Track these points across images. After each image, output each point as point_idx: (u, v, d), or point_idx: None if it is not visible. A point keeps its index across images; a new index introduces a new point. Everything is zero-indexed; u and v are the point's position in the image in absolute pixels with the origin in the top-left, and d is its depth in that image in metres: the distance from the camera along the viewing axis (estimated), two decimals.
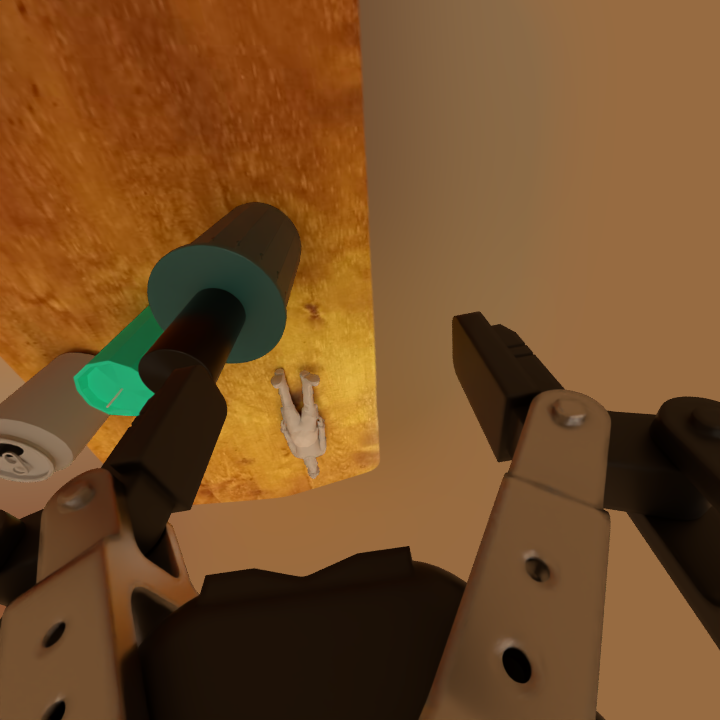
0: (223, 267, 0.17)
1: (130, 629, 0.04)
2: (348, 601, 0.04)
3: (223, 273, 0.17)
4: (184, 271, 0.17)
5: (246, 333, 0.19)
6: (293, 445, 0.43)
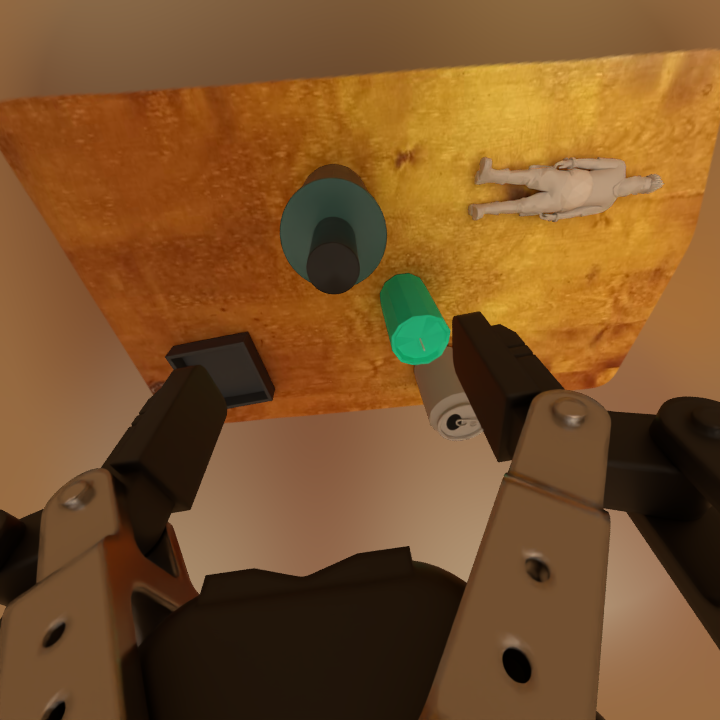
0: (295, 225, 0.22)
1: (130, 629, 0.04)
2: (348, 601, 0.04)
3: (300, 227, 0.22)
4: (301, 256, 0.23)
5: (355, 220, 0.22)
6: (587, 208, 0.33)
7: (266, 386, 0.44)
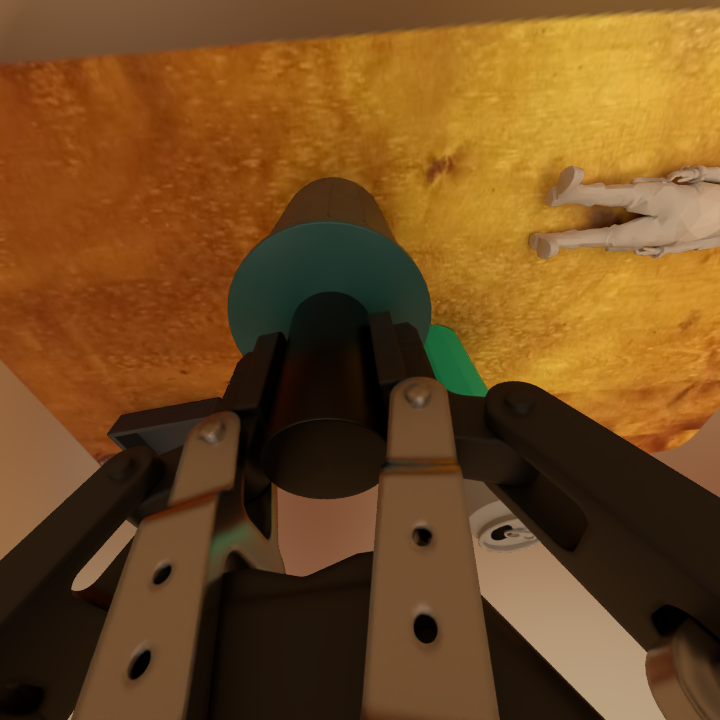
0: (257, 307, 0.11)
1: (216, 600, 0.04)
2: (348, 601, 0.04)
3: (267, 309, 0.11)
4: None
5: (372, 297, 0.11)
6: (708, 239, 0.22)
7: None
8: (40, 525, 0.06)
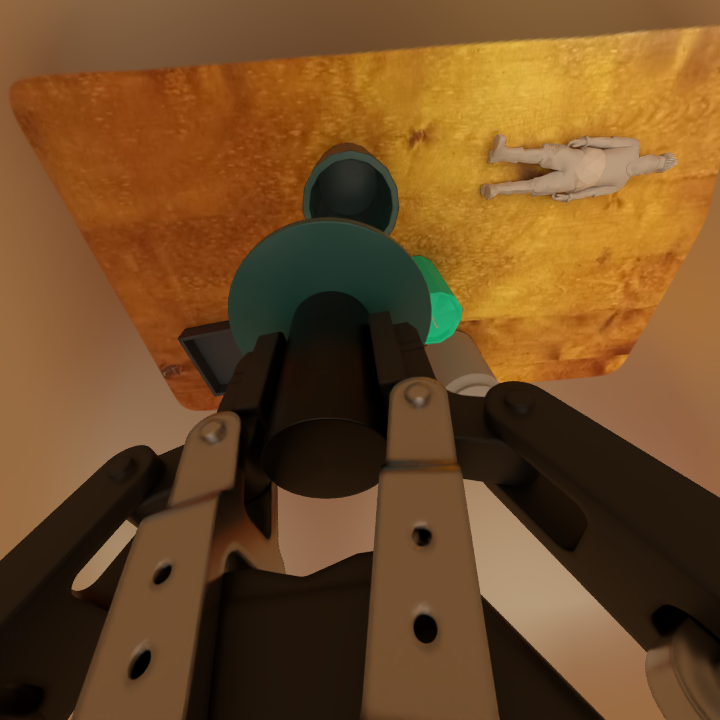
0: (258, 307, 0.11)
1: (216, 600, 0.04)
2: (348, 601, 0.04)
3: (267, 309, 0.11)
4: None
5: (373, 296, 0.11)
6: (599, 188, 0.33)
7: None
8: (41, 525, 0.06)
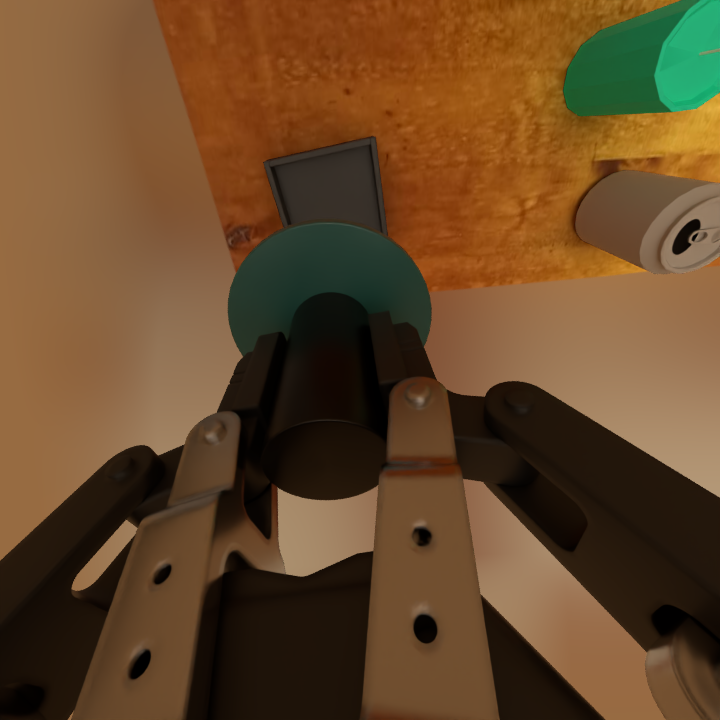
0: (257, 308, 0.11)
1: (216, 600, 0.04)
2: (348, 601, 0.04)
3: (267, 310, 0.11)
4: None
5: (373, 298, 0.11)
6: None
7: None
8: (41, 525, 0.06)
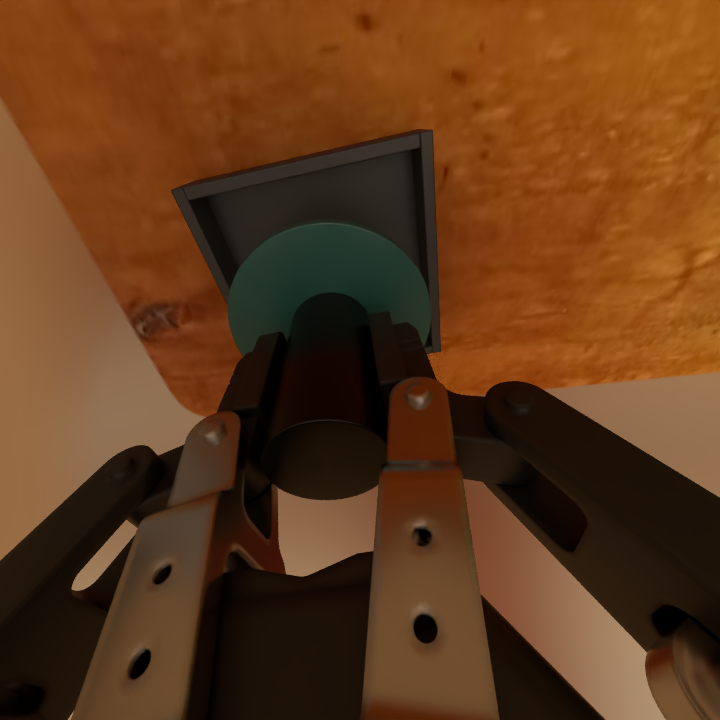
0: (257, 308, 0.11)
1: (216, 600, 0.04)
2: (348, 601, 0.04)
3: (267, 310, 0.11)
4: None
5: (373, 298, 0.11)
6: None
7: None
8: (40, 525, 0.06)
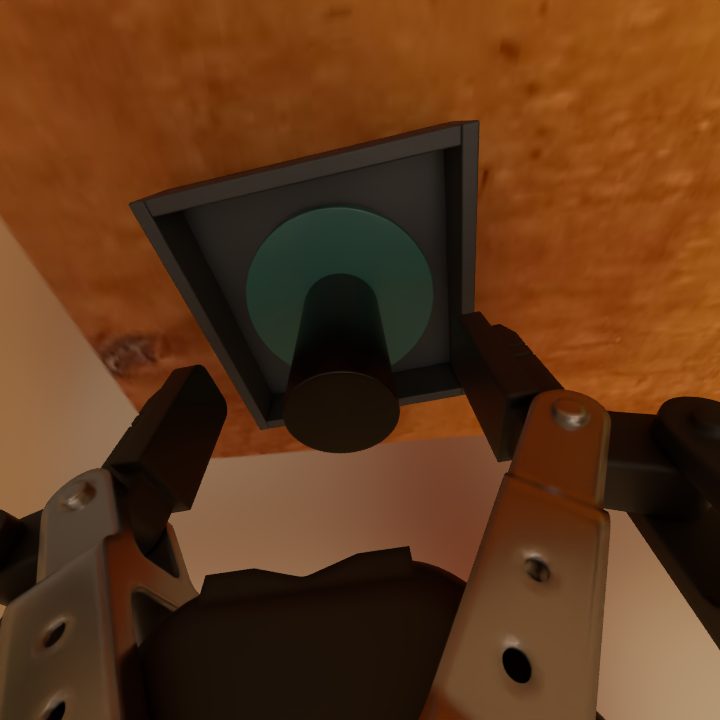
0: (273, 288, 0.12)
1: (130, 629, 0.04)
2: (348, 601, 0.04)
3: (281, 290, 0.12)
4: (285, 334, 0.13)
5: (379, 278, 0.12)
6: None
7: None
8: None
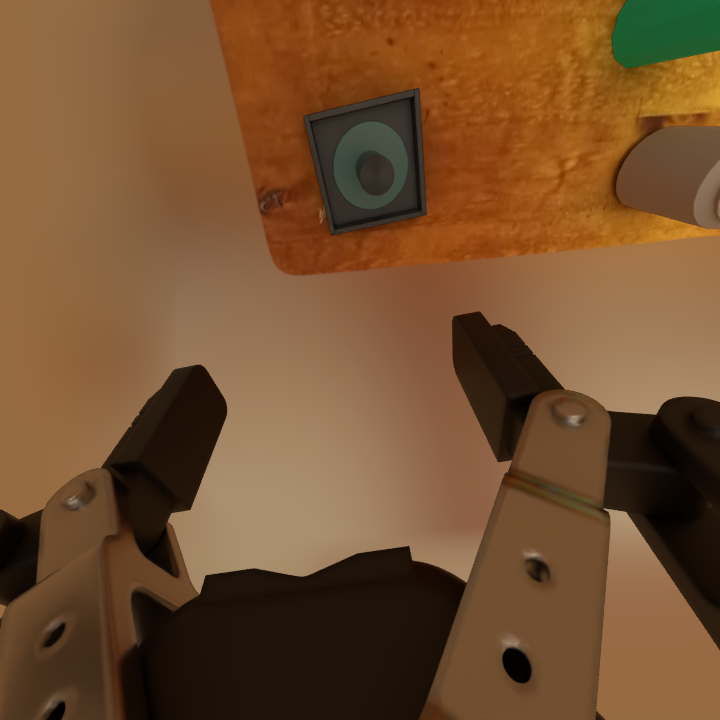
0: (344, 157, 0.31)
1: (130, 629, 0.04)
2: (348, 601, 0.04)
3: (347, 158, 0.31)
4: (346, 182, 0.32)
5: (386, 154, 0.31)
6: None
7: (424, 187, 0.32)
8: None
